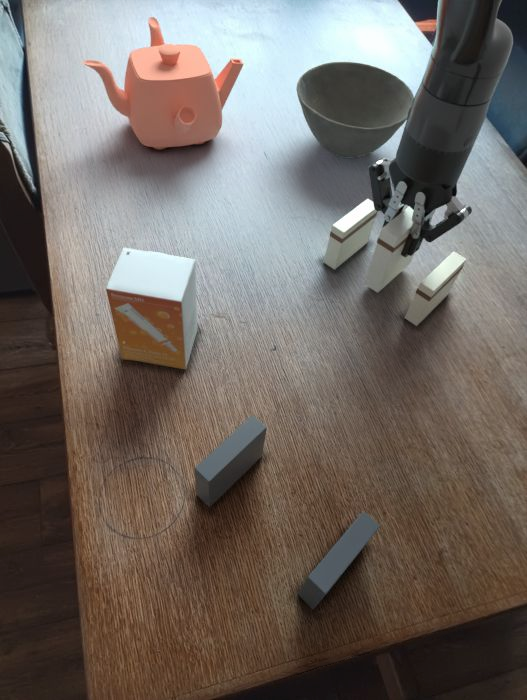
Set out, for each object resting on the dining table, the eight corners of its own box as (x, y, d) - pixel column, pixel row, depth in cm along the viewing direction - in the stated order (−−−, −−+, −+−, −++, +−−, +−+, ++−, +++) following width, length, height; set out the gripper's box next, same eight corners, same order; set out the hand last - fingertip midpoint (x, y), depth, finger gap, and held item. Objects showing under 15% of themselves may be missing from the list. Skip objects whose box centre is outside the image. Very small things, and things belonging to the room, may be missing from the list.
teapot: (96, 140, 90) (80, 55, 79) (157, 90, 100) (150, 8, 89) (192, 177, 86) (189, 94, 75) (245, 121, 96) (249, 40, 85)
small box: (121, 360, 65) (103, 288, 55) (136, 319, 69) (122, 245, 58) (187, 371, 65) (182, 301, 55) (198, 330, 69) (196, 257, 58)
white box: (410, 263, 77) (433, 208, 69) (377, 293, 73) (397, 238, 65) (396, 254, 78) (417, 198, 70) (362, 283, 74) (381, 228, 66)
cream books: (448, 294, 76) (467, 259, 70) (416, 326, 72) (434, 291, 66) (356, 235, 81) (367, 198, 76) (323, 262, 77) (331, 225, 72)
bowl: (297, 109, 100) (304, 53, 91) (398, 126, 99) (415, 71, 91) (281, 171, 89) (288, 114, 81) (395, 190, 88) (414, 135, 80)
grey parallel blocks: (363, 547, 55) (380, 525, 49) (313, 610, 51) (325, 594, 45) (249, 444, 60) (252, 414, 55) (196, 494, 57) (194, 467, 51)
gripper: (516, 144, 57) (456, 261, 71) (407, 88, 62) (371, 208, 76) (481, 174, 53) (425, 290, 67) (368, 112, 58) (338, 233, 72)
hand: (397, 246), depth 72 cm, fingers closed on white box, 2 cm apart
